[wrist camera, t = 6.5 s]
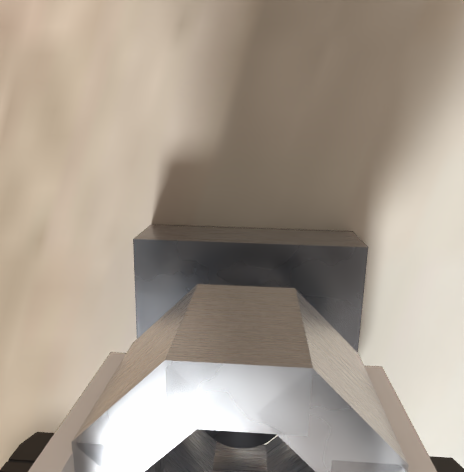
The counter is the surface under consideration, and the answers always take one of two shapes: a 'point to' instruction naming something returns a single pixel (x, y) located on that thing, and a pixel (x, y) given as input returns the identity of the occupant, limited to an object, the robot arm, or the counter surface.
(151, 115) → the counter surface
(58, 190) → the counter surface
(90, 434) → the hub
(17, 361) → the counter surface
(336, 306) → the pillow block
